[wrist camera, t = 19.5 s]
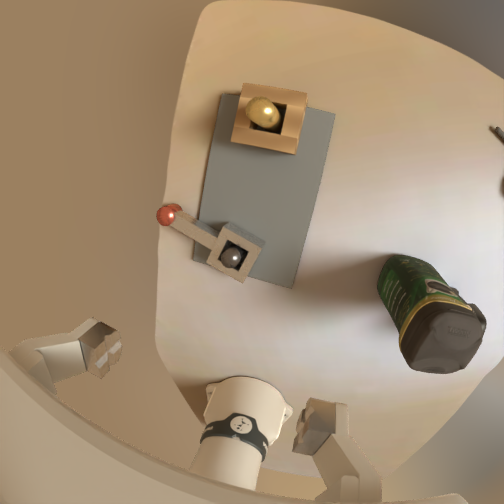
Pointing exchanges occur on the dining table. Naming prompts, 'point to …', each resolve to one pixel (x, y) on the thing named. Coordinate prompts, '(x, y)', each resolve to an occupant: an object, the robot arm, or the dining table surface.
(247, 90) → the slot block
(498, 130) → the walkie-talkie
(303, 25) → the dining table surface
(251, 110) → the pin
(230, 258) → the post
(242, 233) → the knob socket block
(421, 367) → the coffee jar
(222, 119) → the mat
